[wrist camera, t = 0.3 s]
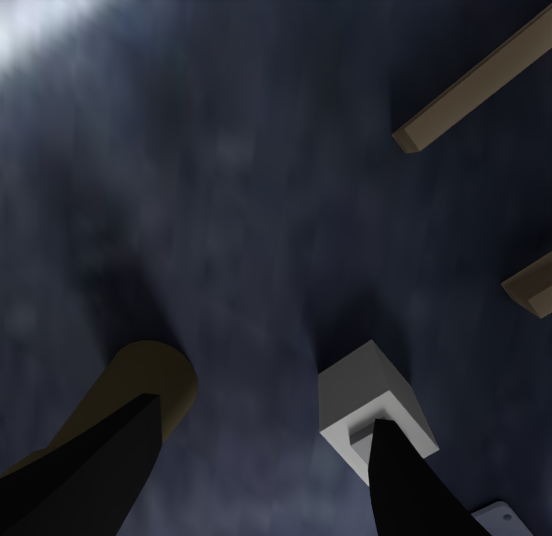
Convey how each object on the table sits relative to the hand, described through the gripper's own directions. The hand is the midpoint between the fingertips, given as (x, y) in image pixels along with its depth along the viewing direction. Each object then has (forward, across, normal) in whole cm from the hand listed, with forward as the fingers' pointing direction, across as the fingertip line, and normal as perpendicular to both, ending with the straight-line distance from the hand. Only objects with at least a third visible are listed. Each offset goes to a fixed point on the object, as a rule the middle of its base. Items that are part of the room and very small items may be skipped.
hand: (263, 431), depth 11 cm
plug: (+10, -5, +4) cm, 12 cm away
